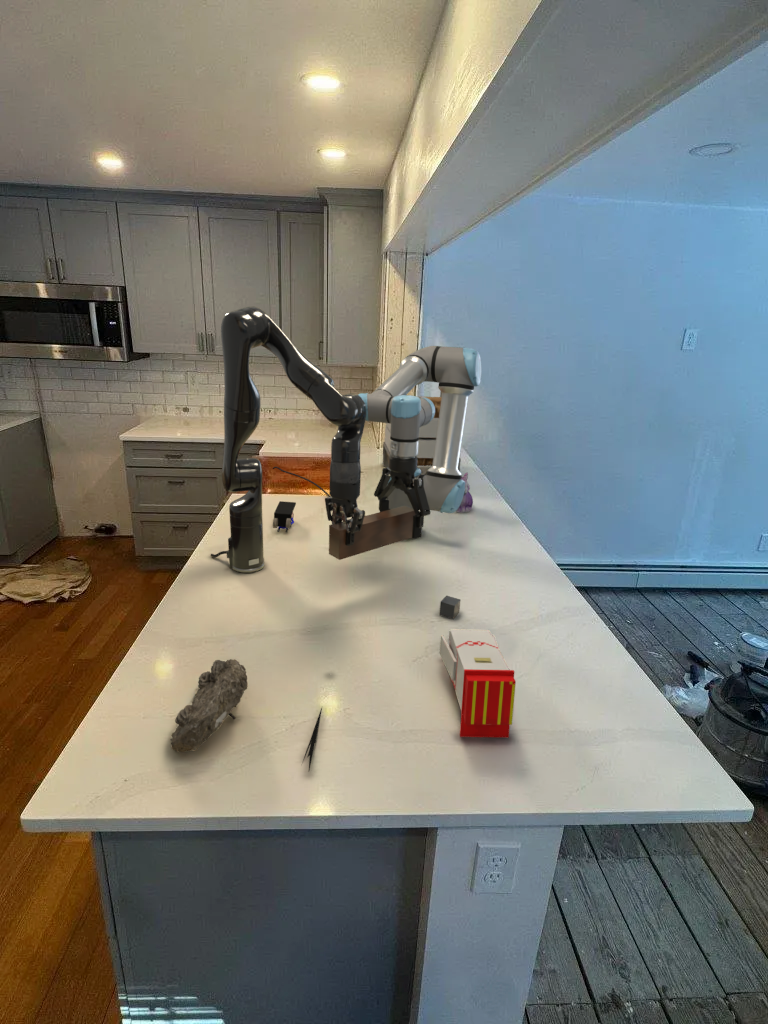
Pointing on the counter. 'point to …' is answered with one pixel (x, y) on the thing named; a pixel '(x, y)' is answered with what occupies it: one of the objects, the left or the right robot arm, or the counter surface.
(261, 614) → the counter surface
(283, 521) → the figurine character
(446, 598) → the slate cube
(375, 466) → the counter surface
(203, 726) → the fossil
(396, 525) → the walnut bar
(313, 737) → the feather
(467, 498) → the figurine
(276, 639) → the counter surface
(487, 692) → the toy
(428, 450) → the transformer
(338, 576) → the counter surface
